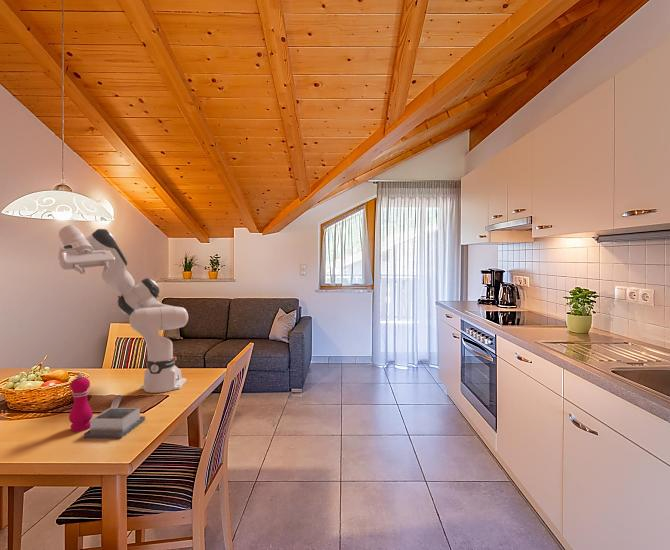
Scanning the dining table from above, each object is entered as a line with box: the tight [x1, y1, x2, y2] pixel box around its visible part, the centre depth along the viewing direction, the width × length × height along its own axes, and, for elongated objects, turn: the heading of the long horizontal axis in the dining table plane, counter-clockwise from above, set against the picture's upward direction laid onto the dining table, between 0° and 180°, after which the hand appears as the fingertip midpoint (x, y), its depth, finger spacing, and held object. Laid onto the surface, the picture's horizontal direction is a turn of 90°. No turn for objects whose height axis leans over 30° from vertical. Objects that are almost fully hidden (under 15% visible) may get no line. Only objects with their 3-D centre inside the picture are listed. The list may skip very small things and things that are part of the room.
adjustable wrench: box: [109, 394, 122, 408], centre depth 165 cm, size 25×6×2 cm, turn 17°
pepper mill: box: [68, 373, 93, 432], centre depth 147 cm, size 7×7×20 cm
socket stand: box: [83, 407, 146, 439], centre depth 146 cm, size 16×13×6 cm
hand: (95, 271), depth 168 cm, fingers open, 8 cm apart
